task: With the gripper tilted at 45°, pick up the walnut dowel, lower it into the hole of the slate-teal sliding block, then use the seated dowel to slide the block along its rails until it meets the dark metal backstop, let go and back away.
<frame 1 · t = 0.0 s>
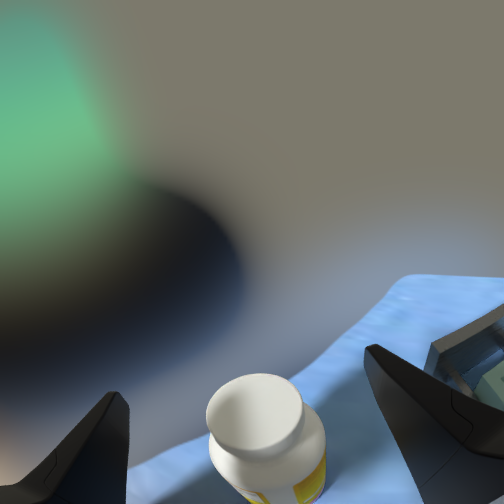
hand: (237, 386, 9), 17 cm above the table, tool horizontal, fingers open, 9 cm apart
supplement bottle: (284, 483, 17), on the table
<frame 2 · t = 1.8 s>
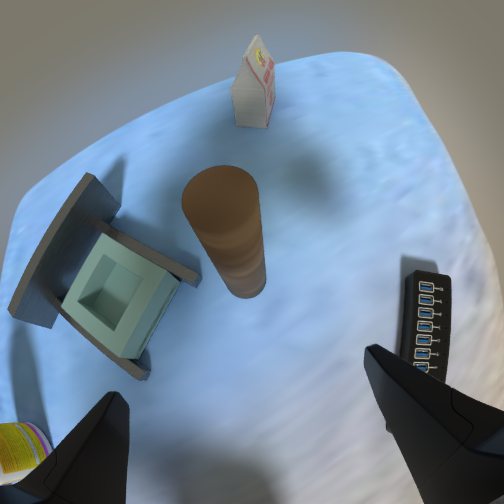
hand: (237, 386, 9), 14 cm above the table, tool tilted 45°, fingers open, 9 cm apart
supplement bottle: (38, 447, 18), on the table
walnut dowel: (245, 278, 24), on the table
rail and backstop frame: (127, 300, 24), on the table
gable top carton: (257, 111, 33), on the table
multiport hub: (417, 355, 21), on the table
sliding socket block: (117, 295, 23), point 2 cm above the table, slide at 0.0 cm
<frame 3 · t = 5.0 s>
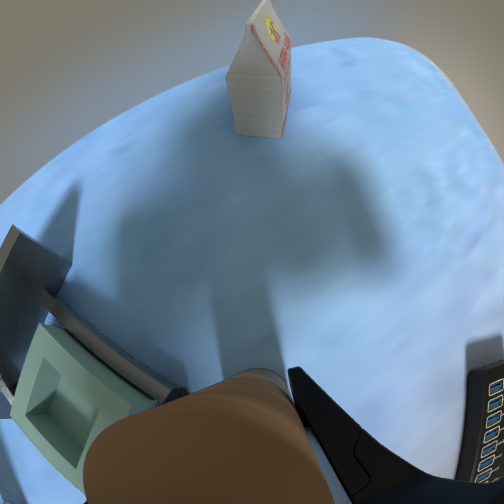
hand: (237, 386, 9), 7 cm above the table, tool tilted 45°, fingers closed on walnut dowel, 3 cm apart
walnut dowel: (257, 397, 14), on the table, touching gripper
rail and backstop frame: (91, 409, 14), on the table
gable top carton: (265, 112, 22), on the table
multiport hub: (475, 452, 11), on the table
sliding socket block: (74, 411, 12), point 2 cm above the table, slide at 0.0 cm
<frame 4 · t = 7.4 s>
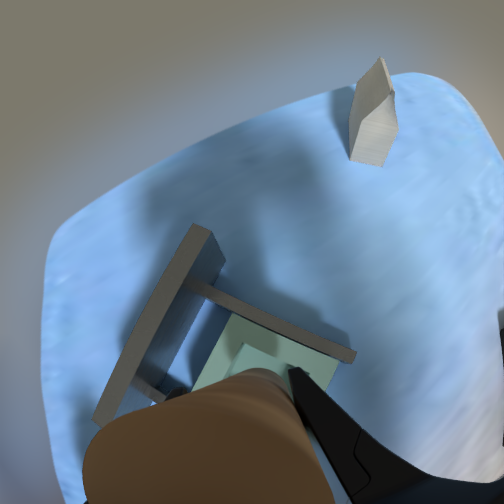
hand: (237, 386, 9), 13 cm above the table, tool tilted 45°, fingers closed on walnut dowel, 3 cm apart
walnut dowel: (257, 396, 14), point 6 cm above the table, touching gripper
rail and backstop frame: (261, 385, 20), on the table
gable top carton: (364, 143, 28), on the table
sliding socket block: (260, 388, 18), point 2 cm above the table, slide at 0.0 cm
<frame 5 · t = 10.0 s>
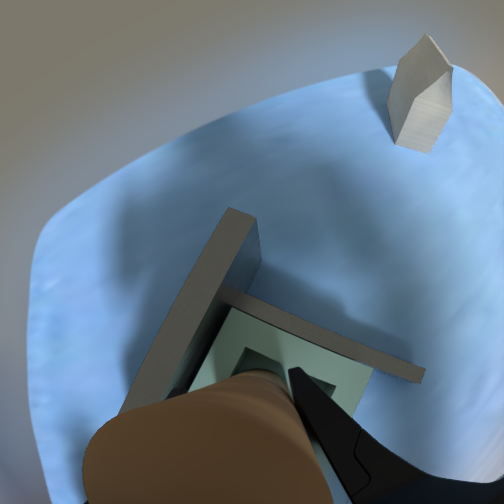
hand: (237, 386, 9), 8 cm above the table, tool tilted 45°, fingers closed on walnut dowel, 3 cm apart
walnut dowel: (258, 397, 14), point 1 cm above the table, touching gripper, sliding socket block
rail and backstop frame: (311, 417, 15), on the table
gable top carton: (406, 127, 23), on the table
sliding socket block: (269, 405, 14), point 2 cm above the table, slide at 2.9 cm, touching walnut dowel
when the fingers open (8 cm above the table, at t = 10.2 s): walnut dowel stays where it is, resting on sliding socket block.
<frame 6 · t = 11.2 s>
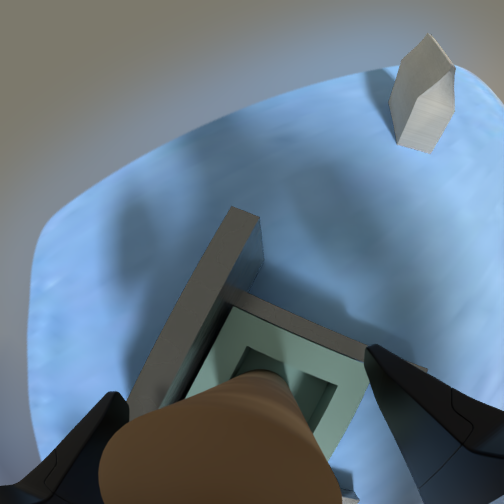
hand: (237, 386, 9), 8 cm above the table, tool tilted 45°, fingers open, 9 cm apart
walnut dowel: (259, 397, 14), point 1 cm above the table, touching sliding socket block
rail and backstop frame: (313, 417, 15), on the table
gable top carton: (408, 127, 23), on the table
sliding socket block: (270, 405, 14), point 2 cm above the table, slide at 3.0 cm, touching walnut dowel
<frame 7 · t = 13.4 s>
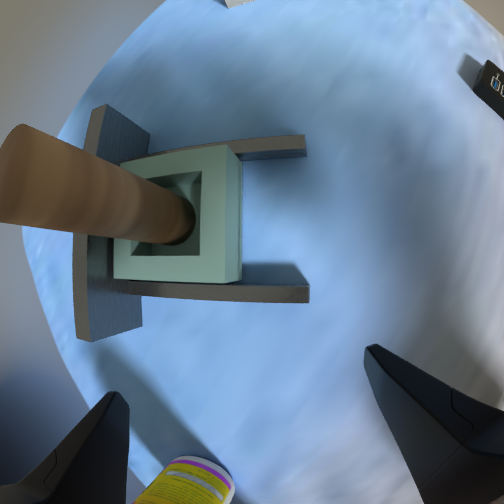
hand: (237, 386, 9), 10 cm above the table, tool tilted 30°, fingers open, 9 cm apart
supplement bottle: (203, 476, 19), on the table
walnut dowel: (173, 220, 19), point 1 cm above the table, touching sliding socket block
rail and backstop frame: (228, 220, 19), on the table
sliding socket block: (176, 218, 18), point 2 cm above the table, slide at 3.0 cm, touching walnut dowel
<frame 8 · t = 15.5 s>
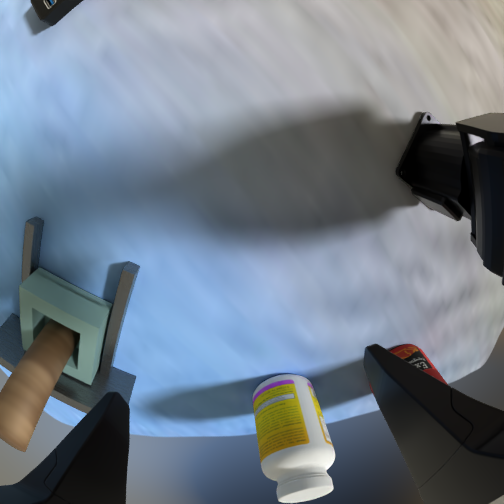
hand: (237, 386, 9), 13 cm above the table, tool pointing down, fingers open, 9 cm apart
supplement bottle: (282, 389, 28), on the table
walnut dowel: (65, 329, 21), point 1 cm above the table, touching sliding socket block
rail and backstop frame: (73, 293, 21), on the table
sliding socket block: (62, 329, 20), point 2 cm above the table, slide at 3.0 cm, touching walnut dowel
canned food: (393, 365, 28), on the table
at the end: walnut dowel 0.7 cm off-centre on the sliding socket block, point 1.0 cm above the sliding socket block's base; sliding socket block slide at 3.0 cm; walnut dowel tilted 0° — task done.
